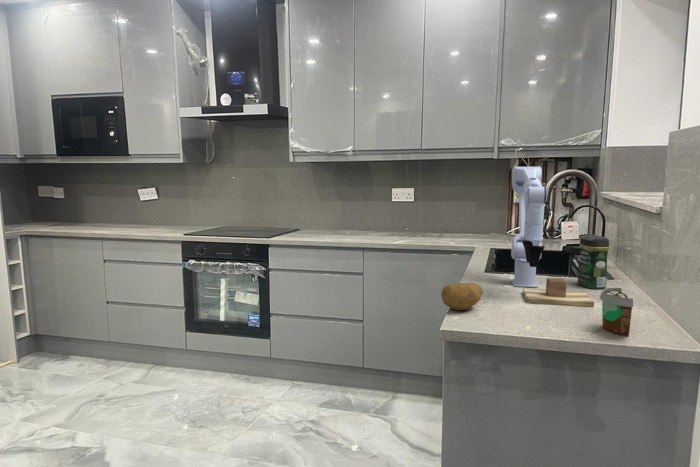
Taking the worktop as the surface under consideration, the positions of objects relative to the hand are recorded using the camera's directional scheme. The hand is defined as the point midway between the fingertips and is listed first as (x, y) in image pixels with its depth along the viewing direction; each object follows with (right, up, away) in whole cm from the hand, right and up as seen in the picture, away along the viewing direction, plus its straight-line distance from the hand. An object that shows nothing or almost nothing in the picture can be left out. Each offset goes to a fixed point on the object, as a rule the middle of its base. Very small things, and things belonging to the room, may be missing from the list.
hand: (531, 264), depth 157 cm
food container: (+9, -15, -32) cm, 36 cm away
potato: (-26, -13, -14) cm, 32 cm away
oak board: (+7, -11, -4) cm, 13 cm away
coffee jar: (+27, -9, +14) cm, 31 cm away
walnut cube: (+6, -10, -4) cm, 12 cm away
